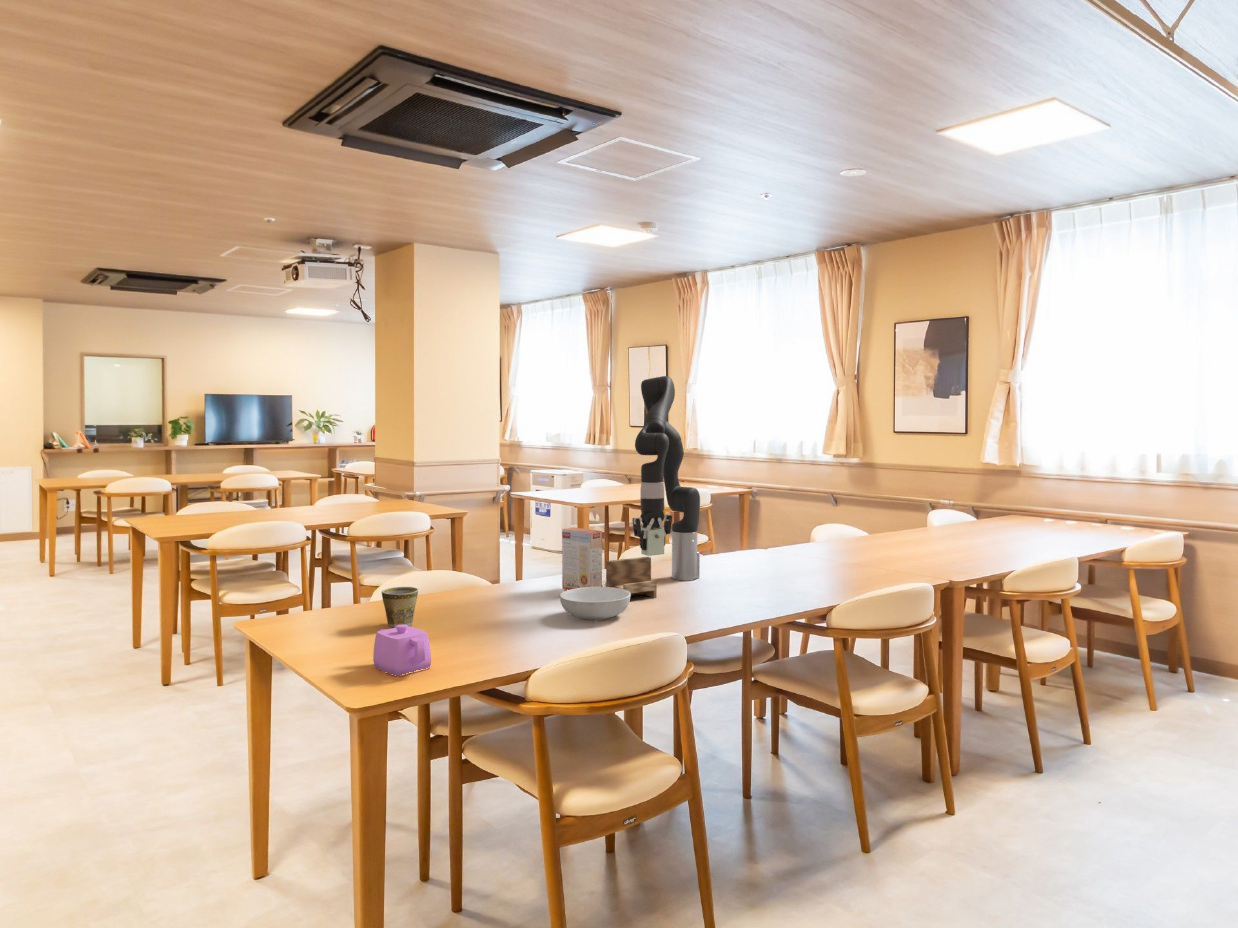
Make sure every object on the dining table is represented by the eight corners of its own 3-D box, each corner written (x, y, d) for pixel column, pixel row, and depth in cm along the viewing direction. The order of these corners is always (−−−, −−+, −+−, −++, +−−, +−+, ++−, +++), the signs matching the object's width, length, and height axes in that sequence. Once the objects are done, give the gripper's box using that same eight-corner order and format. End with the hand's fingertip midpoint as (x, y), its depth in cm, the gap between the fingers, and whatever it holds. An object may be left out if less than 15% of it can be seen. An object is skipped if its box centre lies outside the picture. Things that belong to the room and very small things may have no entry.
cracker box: (603, 592, 275) (603, 530, 274) (590, 595, 271) (590, 532, 270) (574, 586, 285) (574, 526, 284) (561, 589, 281) (561, 528, 280)
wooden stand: (647, 592, 276) (647, 556, 275) (661, 596, 269) (661, 560, 268) (606, 597, 268) (606, 560, 267) (619, 602, 261) (619, 565, 260)
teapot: (362, 664, 197) (361, 622, 196) (401, 655, 204) (400, 614, 204) (401, 681, 184) (400, 636, 184) (441, 671, 192) (441, 627, 191)
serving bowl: (588, 605, 258) (588, 583, 257) (644, 614, 246) (644, 591, 245) (545, 618, 241) (545, 595, 240) (602, 629, 229) (602, 605, 228)
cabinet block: (657, 552, 264) (656, 527, 263) (665, 554, 260) (665, 529, 259) (641, 554, 261) (641, 529, 260) (650, 556, 257) (649, 531, 256)
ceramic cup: (417, 629, 229) (416, 593, 228) (380, 630, 227) (379, 594, 226) (420, 617, 241) (420, 583, 241) (385, 619, 240) (384, 585, 239)
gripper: (664, 493, 266) (664, 545, 268) (626, 496, 259) (627, 549, 260) (677, 495, 260) (678, 548, 261) (639, 498, 252) (640, 553, 254)
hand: (652, 548), depth 261 cm, fingers closed on cabinet block, 6 cm apart
